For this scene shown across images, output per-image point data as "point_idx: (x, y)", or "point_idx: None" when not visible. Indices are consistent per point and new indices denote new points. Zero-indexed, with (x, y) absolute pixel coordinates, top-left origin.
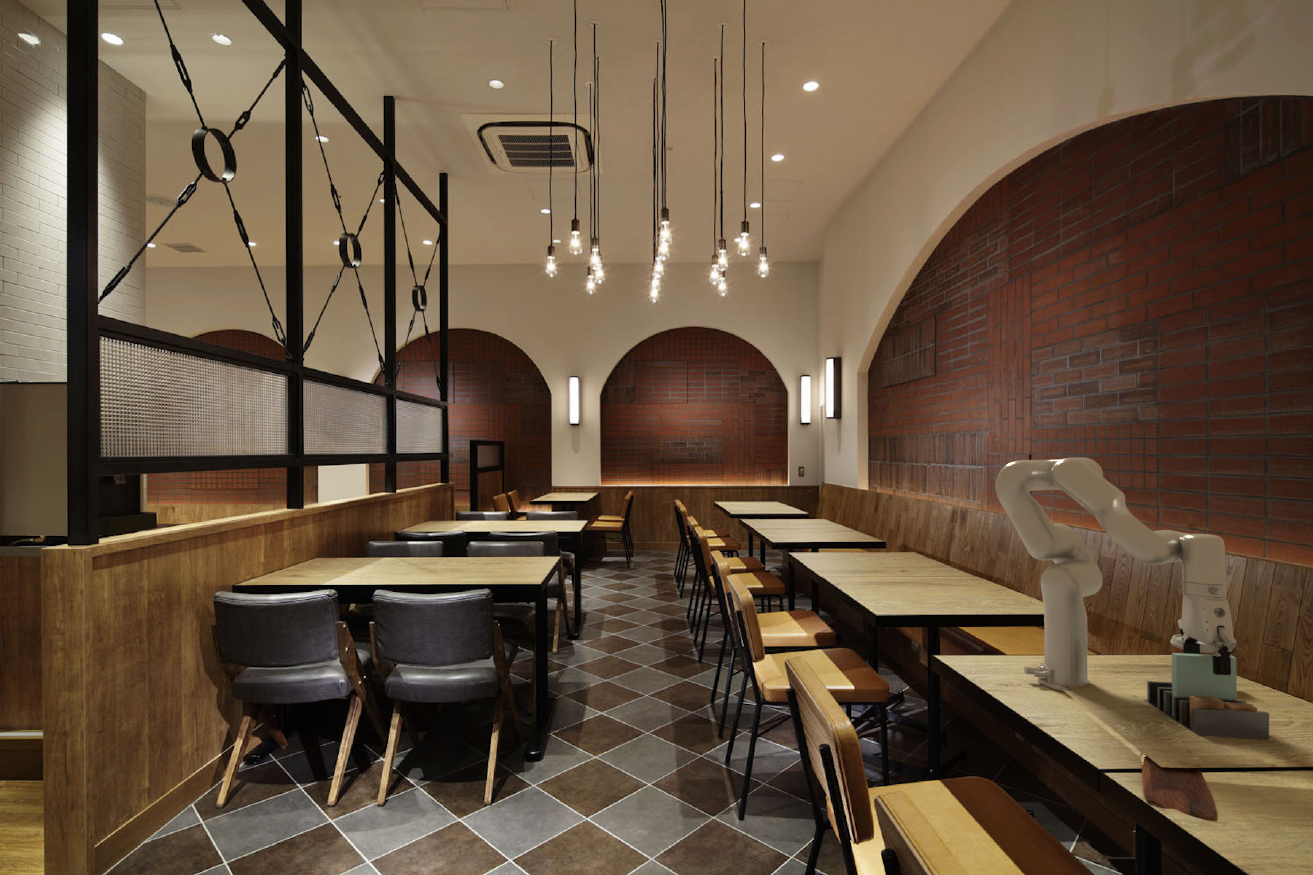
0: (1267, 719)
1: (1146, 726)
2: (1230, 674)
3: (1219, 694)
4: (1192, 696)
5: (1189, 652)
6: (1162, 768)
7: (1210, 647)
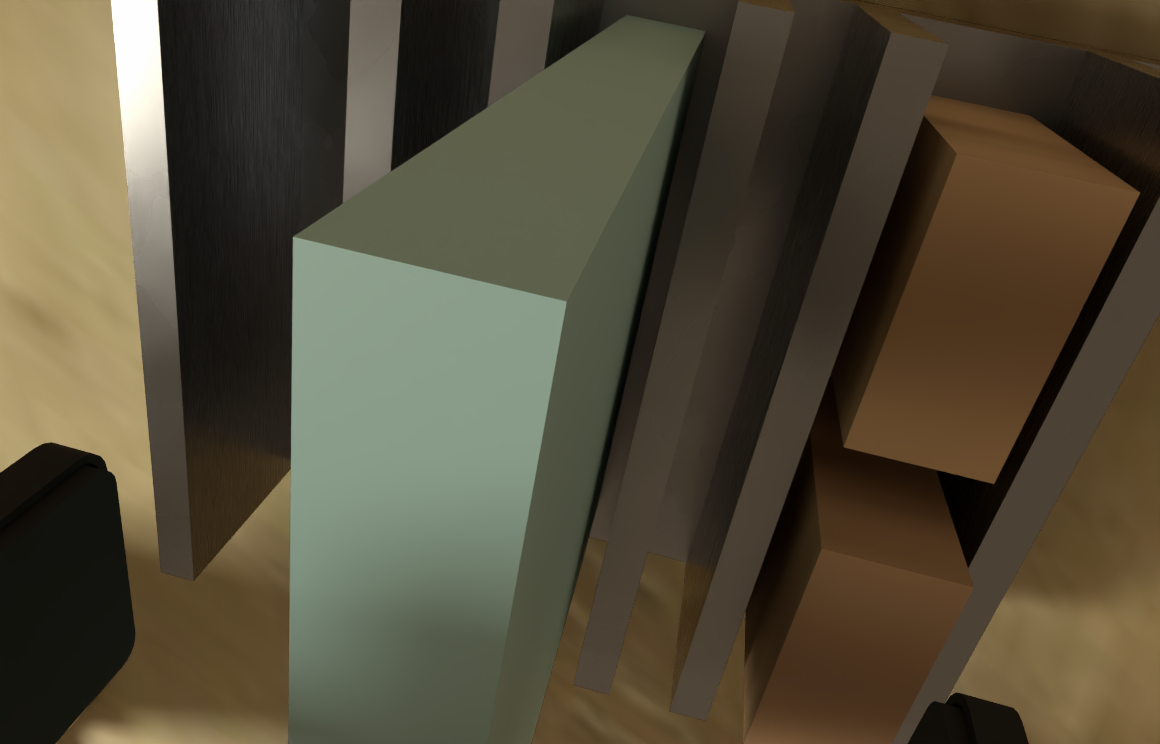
0: None
1: (621, 670)
2: (1014, 714)
3: (634, 295)
4: (770, 741)
5: (14, 733)
6: None
7: None
